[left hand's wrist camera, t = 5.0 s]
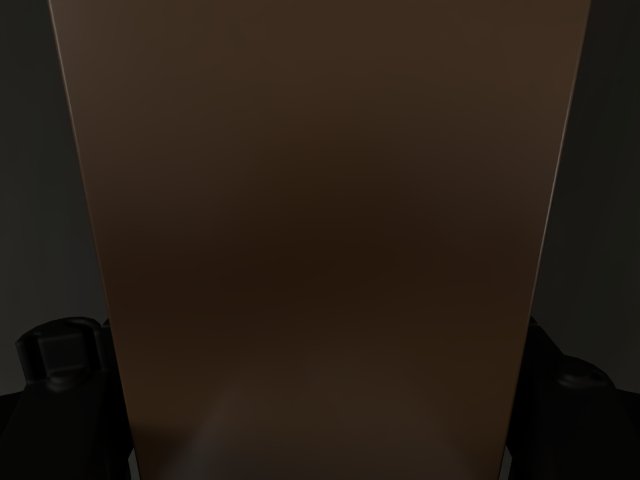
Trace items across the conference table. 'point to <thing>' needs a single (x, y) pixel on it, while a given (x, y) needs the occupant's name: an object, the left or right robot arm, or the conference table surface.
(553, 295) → the conference table surface
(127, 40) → the beam
